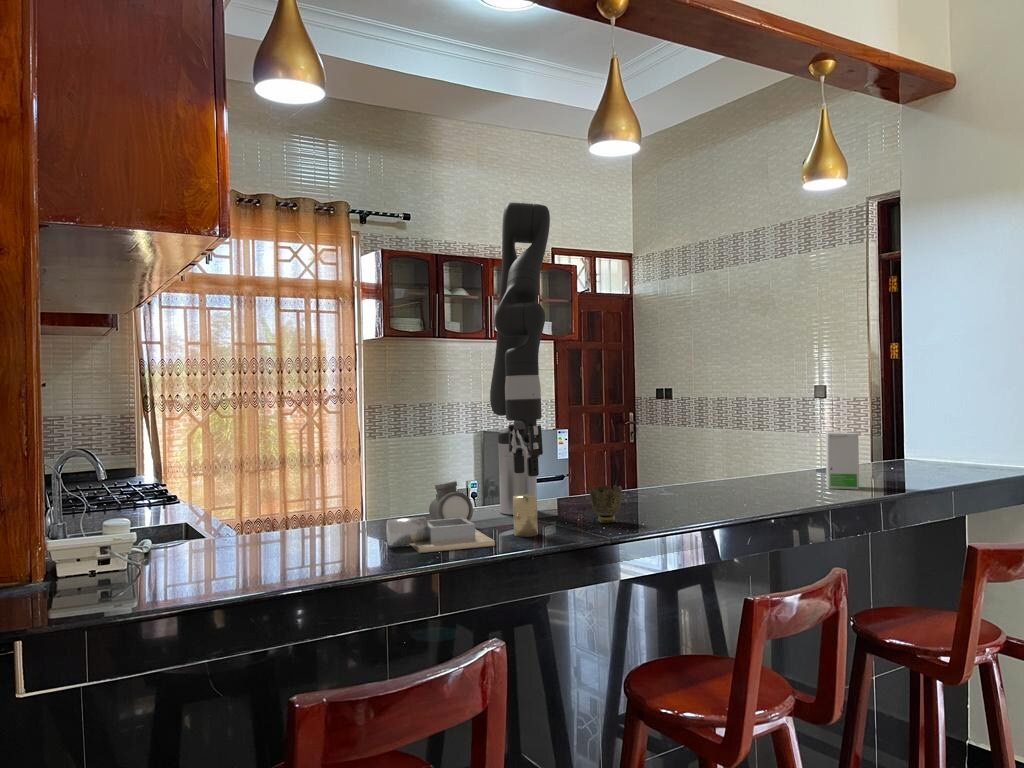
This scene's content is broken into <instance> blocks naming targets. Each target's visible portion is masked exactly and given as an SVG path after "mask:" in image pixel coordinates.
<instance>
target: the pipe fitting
mask: <svg viewBox="0 0 1024 768" xmlns="http://www.w3.org/2000/svg"><path fill="white" fill-rule="evenodd" d="M457 486H458V482H457V481H456V480H455V481H447V482H442V483H437V484H435V485H434V489H435V490H436V493H435V499H433V500H431V503H430V504H429V508H428V512H429V513H428V514H429V515H430V518H431V520H439V519H451V518H463V517H464V518H465V519H467V520H469V521H470V522H471V519H472V517H473V514H474V508H473V503H472V500H471V498H470V497H469V496H468V495H467V494H465V493H463V492H459V491H457V490H458V489H457Z"/></svg>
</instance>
